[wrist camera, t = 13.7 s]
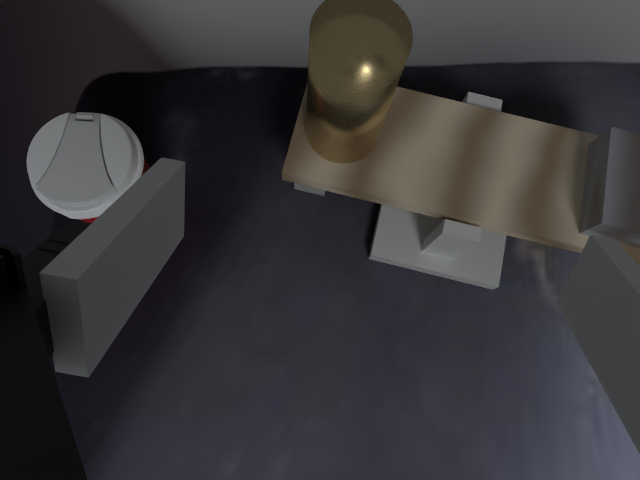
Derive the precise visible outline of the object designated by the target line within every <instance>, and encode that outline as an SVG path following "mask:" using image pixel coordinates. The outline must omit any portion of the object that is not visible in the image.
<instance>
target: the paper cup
mask: <svg viewBox="0 0 640 480" xmlns="http://www.w3.org/2000/svg"><path fill="white" fill-rule="evenodd" d="M149 169H150V168H149V166H148V164H147V162H146V161H145V159H144V155H143V149H142V146H141V143H140V141H139V139H138V138H137V136H136V134H135V133H134V132H133V131H132V129H131V128H130V127H128V126H127V125H126V124H125V123H123V122H122V121H120V120H119V119H116V118H114V117H112V116H109V115H105V114H99V113H84V112H77V113H76V114H71V113H66V114H63V115H60V116H58V117H56V118H54V119H53V120H51V121H49V122H48V123H47V124H45V125H44V126H43V127H42V128H41V129H40V130H39V132H38V133H37V134H36V135H35V137H34V138H33V140H32V142H31V144H30V147H29V150H28V154H27V171H28V174H29V179H30V182H31V186H32V188H33V190H34V192H35V194H36V195H37V196H38V198H39V199H40V200H41V201H42V202H43V203H44V204H45V205H46V206H48V207H49V208H51V209H52V210H54V211H56V212H58V213H61V214H63V215H65V216H67V217H69V218H73V219H81V220H82V221H84V222H87V223H93V222H94V221H95V220H96V219H97V218H98V217H99V216H100V215H101V214H102V213H103V212H104V211H105V210H106V209H107V208H108V207H110V206H111V205H112V204H113V203H114V202H115V201H116V200H117V199H118V198H119V197H120V196H121V195H122V194H123V193H124V192H125V191H126V190H128V189H129V188H130V187H131V186H132V185H133V184H134V183H135V182H136V181H137V180H138V179H139V178H140V177H141V176H142V175H143V174H144V173H145V172H147V171H148V170H149Z"/></svg>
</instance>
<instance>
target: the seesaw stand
mask: <svg viewBox="0 0 640 480" xmlns="http://www.w3.org/2000/svg"><path fill="white" fill-rule="evenodd" d="M502 101H503V100H501V99H497V98H492V97H488V96H484V95H480V94H476V93H472V92H468V93H467V95H466V96H465V98H464V100H463V101H462V102H463V103H467V104H471V105H475V106H479V107H483V108H487V109H491V110H495V111H500V112H501V107H502ZM294 189H297V190H301V191H305V192H310V193H314V194H318V195H322V196H324V195H325V191H326V190H322V189H318V188H314V187H310V186H306V185H302V184H298V183H294ZM505 241H506V235H505V234H501V233H497V232H493V231H488V230H484V229H482V228H480V227H476V226H472V225H468V224H464V223H460V222H456V221H452V220H448V219H445V220H444V219H440V218H436V217H432V216H428V215H423V214H419V213H415V212H411V211H407V210H403V209H399V208H395V207H391V206H387V205H383V204H380V209H379V213H378V218H377V222H376V227H375V231H374V236H373V240H372V245H371V249H370V254H369V258H368V259H372V260H376V261H380V262H384V263H388V264H392V265H396V266H400V267H404V268H408V269H412V270H416V271H420V272H424V273H428V274H432V275H436V276H440V277H444V278H448V279H452V280H456V281H460V282H464V283H468V284H472V285H476V286H480V287H484V288H488V289H495V288H497V287H499V282H500V275H501V269H502V262H503V255H504V248H505Z"/></svg>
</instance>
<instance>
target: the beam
mask: <svg viewBox="0 0 640 480" xmlns="http://www.w3.org/2000/svg"><path fill="white" fill-rule="evenodd" d="M307 83H308V82H307ZM306 108H307V86H306V89H305V93H304V96H303V100H302V103H301V107H300V110H299V114H298V118H297V121H296V125H295V128H294V132H293V135H292V139H291V142H290V146H289V149H288V153H287V156H286V160H285V163H284V167H283V170H282V180H285V181H289V182H294V183H298V184H302V185H306V186H310V187H314V188H318V189H322V190H326V191H330V192H334V193H338V194H342V195H346V196H350V197H354V198H358V199H363V200H367V201H371V202H375V203H379V204H383V205H387V206H391V207H395V208H399V209H403V210H407V211H411V212H415V213H419V214H423V215H428V216H432V217H436V218H440V219H444V220H445V219H448V220H452V221H456V222H460V223H464V224H468V225H472V226H476V227H480V228H482V229H484V230H488V231H493V232H497V233H501V234H505V235H509V236H513V237H517V238H521V239H525V240H529V241H533V242H537V243H541V244H545V245H549V246H553V247H558V248H562V249H566V250H570V251H574V252H578V253H582V251H583V249H584V247H585V245H586V243H587V241H588V239H589V237H590V235H597V236H602V237H608V238H613V239H615V240H616V241H617V242H618V243H619V245H620V246H621V247H622V248H623V249H624V250H625V251H626V252H627V254H628V255H629V256H630V257H631V258H632V259H633V260H634V261H635V263H636V264H637V265H638V266H639V267H640V134H638V133H634V132H630V131H626V130H622V129H618V128H614V127H610V128H609V129H608V130H606V131H605V132H604V133H602V134H601V135H600V136H598V135H594V134H590V133H586V132H582V131H578V130H574V129H570V128H565V127H561V126H557V125H553V124H549V123H545V122H541V121H537V120H533V119H528V118H524V117H520V116H516V115H512V114H508V113H504V112H500V111H495V110H491V109H487V108H483V107H479V106H475V105H471V104H467V103H463V102H458V101H454V100H450V99H446V98H442V97H438V96H434V95H430V94H425V93H421V92H417V91H413V90H409V89H405V88H401V87H397V88H396V91H395V94H394V96H393V99H392V102H391V105H390V107H389V110H388V113H387V116H386V118H385V121H384V124H383V127H382V129H381V132H380V135H379V138H378V140H377V143H376V145H375V147H374V149H373V150H372V151H371V152H370V153H369V154H368V155H367V156H366V157H365V158H363V159H361V160H359V161H357V162H353V163H347V164H340V163H334V162H331V161H328V160H326V159H324V158H322V157H321V156H319V155H318V154H317V153H316V152H315V151H314V150H313V149H312V147H311V146H310V144H309V142H308V139H307V136H306Z"/></svg>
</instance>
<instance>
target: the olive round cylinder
mask: <svg viewBox="0 0 640 480" xmlns="http://www.w3.org/2000/svg"><path fill="white" fill-rule="evenodd" d="M309 34H310V35H309V58H308V83H307V108H306V136H307V139H308V142H309V144H310V146H311V147H312V149H313V150H314V151H315V152H316V153H317V154H318V155H319V156H321V157H322V158H324V159H326V160H328V161H331V162H334V163H340V164H347V163H353V162H357V161H359V160H361V159H363V158H365V157H366V156H367V155H368V154H369V153H370V152H371V151H372V150H373V149H374V147H375V145H376V143H377V140H378V138H379V135H380V132H381V129H382V127H383V124H384V121H385V118H386V116H387V113H388V110H389V107H390V105H391V102H392V99H393V96H394V94H395V91H396V88H397V85H398V83H399V80H400V77H401V75H402V72H403V69H404V66H405V63H406V61H407V58H408V55H409V52H410V50H411V46H412V40H413V34H412V28H411V24H410V22H409V19H408V17H407V16H406V14H405V12H404V11H403V10H402V9H401V8H400V7H399V6H398V4H396V3H395V2H394V1H393V0H325V1H324V2H323V3H322V4H321V5H320V6H319V7H318V9H317V10H316V12H315V13H314V15H313V18H312V20H311V24H310V33H309Z"/></svg>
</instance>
